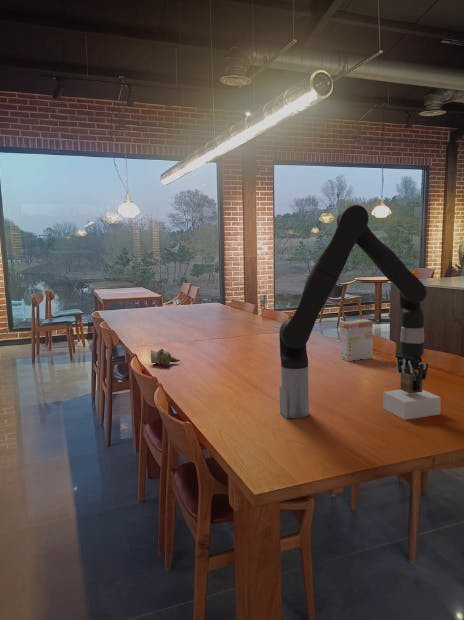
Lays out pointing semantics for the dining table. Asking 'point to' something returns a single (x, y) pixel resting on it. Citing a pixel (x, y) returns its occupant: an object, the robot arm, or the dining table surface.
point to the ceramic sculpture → (162, 357)
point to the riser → (411, 404)
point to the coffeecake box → (356, 339)
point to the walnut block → (409, 382)
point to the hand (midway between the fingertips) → (411, 388)
